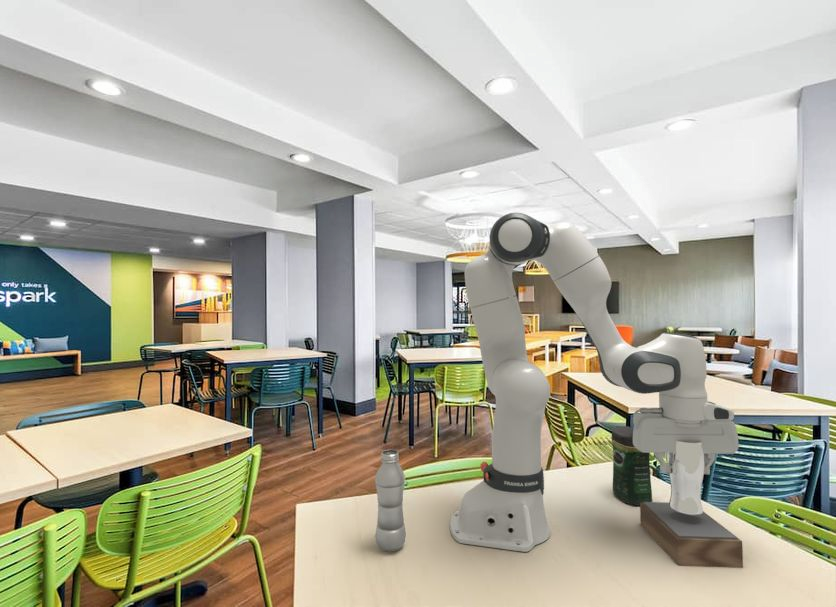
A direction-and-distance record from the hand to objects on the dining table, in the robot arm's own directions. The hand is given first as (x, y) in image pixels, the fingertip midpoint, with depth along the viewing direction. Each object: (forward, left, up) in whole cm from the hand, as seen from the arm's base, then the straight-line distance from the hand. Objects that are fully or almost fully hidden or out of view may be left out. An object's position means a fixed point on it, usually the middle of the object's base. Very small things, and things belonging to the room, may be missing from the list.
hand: (684, 473), depth 89 cm
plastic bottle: (-63, -5, -15) cm, 65 cm away
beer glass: (0, 0, -8) cm, 8 cm away
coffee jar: (-2, +22, -15) cm, 27 cm away
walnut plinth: (0, 0, -15) cm, 15 cm away
